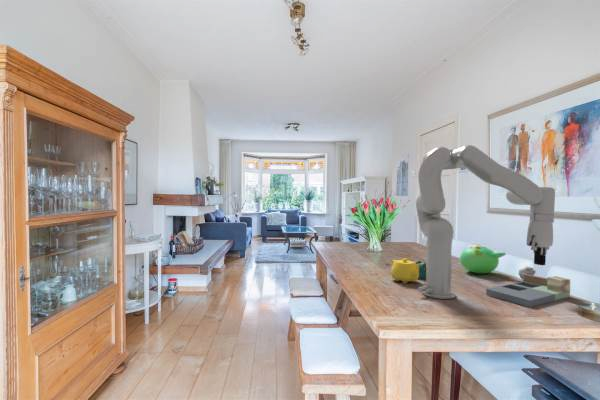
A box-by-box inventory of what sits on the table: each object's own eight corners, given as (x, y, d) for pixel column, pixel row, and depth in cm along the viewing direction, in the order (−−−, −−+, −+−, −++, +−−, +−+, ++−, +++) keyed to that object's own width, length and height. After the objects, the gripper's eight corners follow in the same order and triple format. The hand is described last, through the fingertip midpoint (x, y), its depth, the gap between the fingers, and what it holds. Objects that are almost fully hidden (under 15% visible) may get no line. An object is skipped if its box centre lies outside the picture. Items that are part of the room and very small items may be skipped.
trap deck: (529, 307, 111) (529, 292, 111) (486, 294, 126) (486, 281, 125) (569, 296, 123) (569, 282, 123) (526, 286, 138) (526, 274, 138)
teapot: (429, 284, 141) (429, 261, 141) (412, 287, 136) (412, 263, 136) (400, 275, 157) (400, 254, 157) (383, 278, 152) (383, 256, 152)
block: (560, 292, 120) (560, 280, 120) (547, 289, 125) (547, 276, 125) (570, 292, 121) (570, 279, 121) (557, 288, 126) (557, 276, 126)
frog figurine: (530, 283, 142) (530, 268, 142) (515, 279, 149) (515, 265, 149) (538, 282, 144) (538, 267, 144) (523, 278, 151) (523, 264, 151)
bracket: (420, 279, 150) (420, 263, 150) (410, 276, 156) (410, 260, 156) (447, 275, 157) (447, 260, 157) (436, 272, 164) (436, 258, 164)
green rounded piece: (485, 269, 171) (485, 242, 171) (507, 276, 155) (507, 247, 154) (454, 269, 170) (454, 243, 170) (473, 277, 153) (473, 248, 153)
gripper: (541, 217, 128) (539, 261, 128) (520, 217, 122) (518, 263, 122) (563, 219, 121) (560, 265, 122) (541, 219, 115) (539, 268, 115)
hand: (539, 264), depth 122 cm, fingers closed
